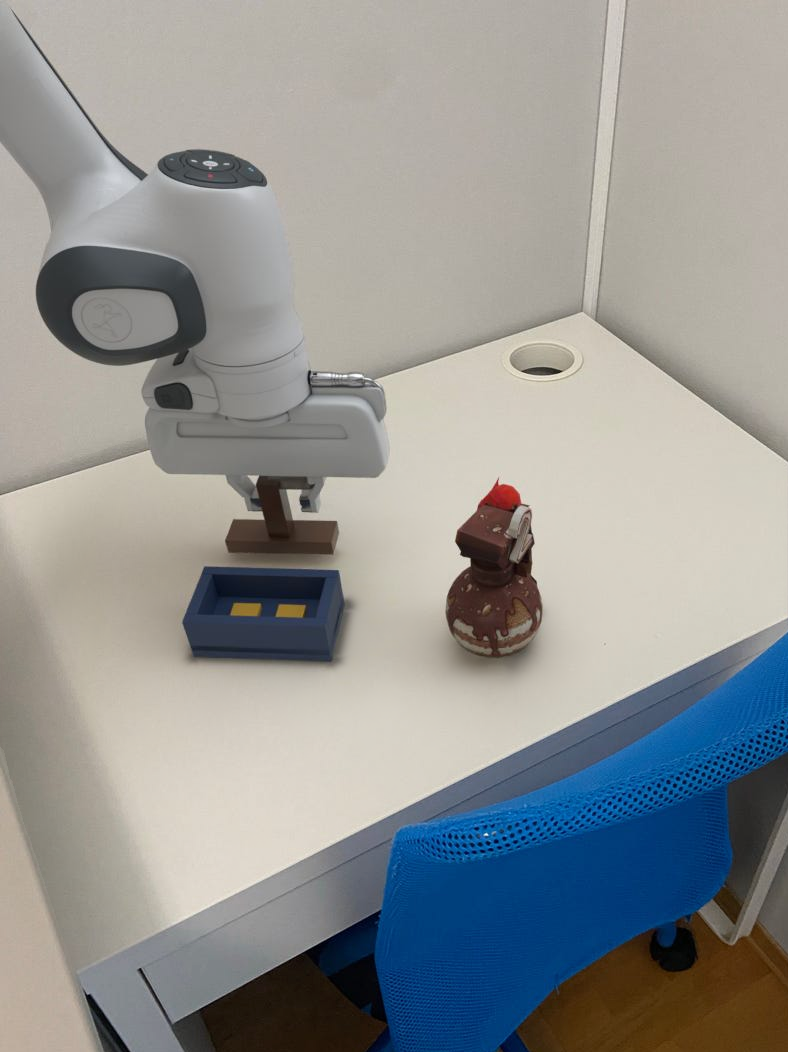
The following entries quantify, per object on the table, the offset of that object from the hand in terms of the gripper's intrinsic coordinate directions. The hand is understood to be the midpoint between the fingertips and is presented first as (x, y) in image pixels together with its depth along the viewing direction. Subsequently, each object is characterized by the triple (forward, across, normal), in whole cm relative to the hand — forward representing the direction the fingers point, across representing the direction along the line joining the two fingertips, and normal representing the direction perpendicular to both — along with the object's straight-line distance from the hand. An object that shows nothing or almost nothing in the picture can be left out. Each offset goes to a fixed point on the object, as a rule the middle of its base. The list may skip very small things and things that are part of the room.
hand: (284, 508), depth 85 cm
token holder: (+6, 0, +10) cm, 12 cm away
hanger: (+4, +1, 0) cm, 4 cm away
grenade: (+6, -20, +10) cm, 23 cm away
